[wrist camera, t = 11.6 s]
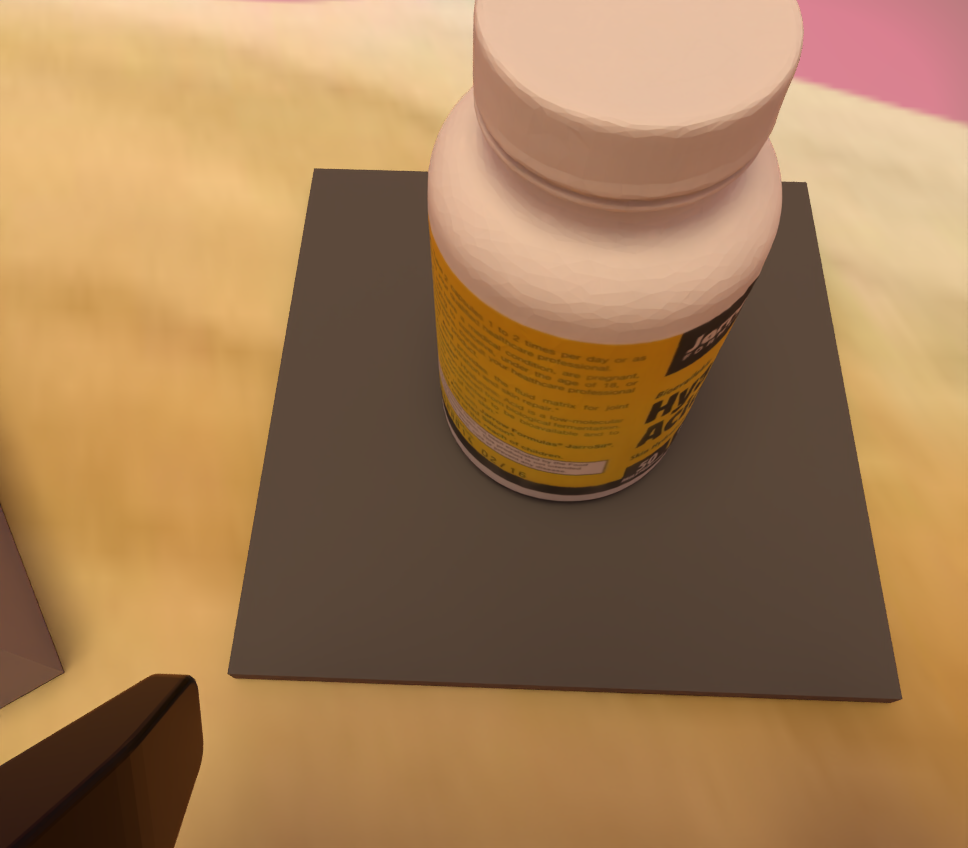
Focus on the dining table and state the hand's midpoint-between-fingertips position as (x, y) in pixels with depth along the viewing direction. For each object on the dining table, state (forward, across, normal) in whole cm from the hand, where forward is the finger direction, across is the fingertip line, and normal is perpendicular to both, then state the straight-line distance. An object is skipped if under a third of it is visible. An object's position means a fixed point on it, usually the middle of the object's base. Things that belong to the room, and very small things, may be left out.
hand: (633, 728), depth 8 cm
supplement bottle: (+11, 0, 0) cm, 11 cm away
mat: (+11, 0, 0) cm, 11 cm away
